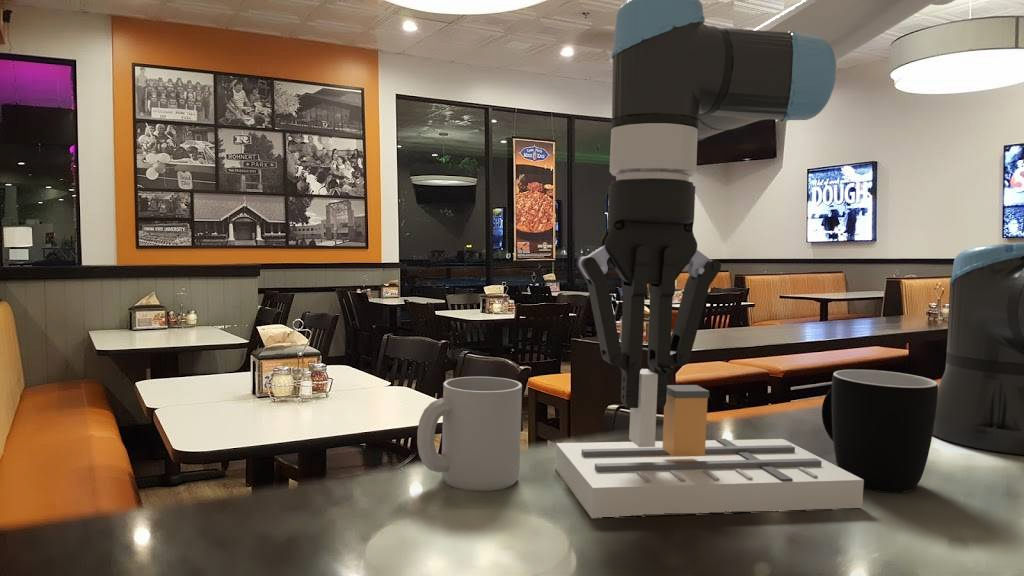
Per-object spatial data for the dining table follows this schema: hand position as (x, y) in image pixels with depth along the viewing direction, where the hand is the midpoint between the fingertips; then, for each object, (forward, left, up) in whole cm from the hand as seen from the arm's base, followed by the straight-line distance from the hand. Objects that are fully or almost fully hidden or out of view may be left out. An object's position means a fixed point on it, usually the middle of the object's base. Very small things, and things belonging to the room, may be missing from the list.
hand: (641, 442), depth 66 cm
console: (-6, 0, -4) cm, 7 cm away
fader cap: (-4, 0, -1) cm, 4 cm away
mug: (-24, -2, -5) cm, 24 cm away
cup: (+15, -4, -5) cm, 16 cm away
